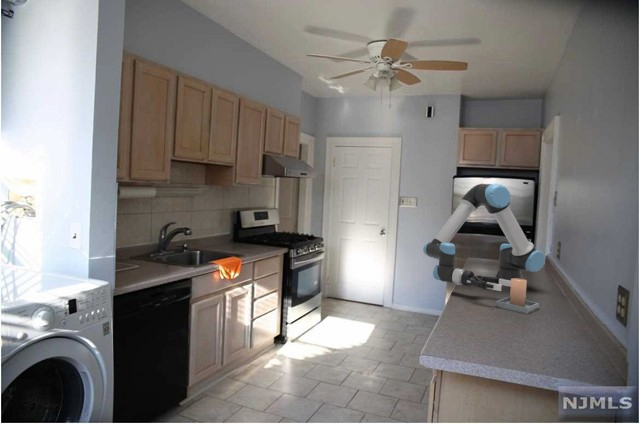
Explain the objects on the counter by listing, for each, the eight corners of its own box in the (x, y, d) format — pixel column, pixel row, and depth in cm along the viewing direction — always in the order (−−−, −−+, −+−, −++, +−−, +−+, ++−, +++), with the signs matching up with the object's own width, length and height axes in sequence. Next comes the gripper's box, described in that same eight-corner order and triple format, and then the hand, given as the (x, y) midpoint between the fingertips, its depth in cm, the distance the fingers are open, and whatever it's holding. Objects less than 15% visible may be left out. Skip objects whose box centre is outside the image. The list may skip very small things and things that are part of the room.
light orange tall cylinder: (512, 303, 205) (514, 277, 204) (527, 306, 200) (528, 280, 200) (507, 305, 200) (508, 279, 200) (521, 308, 196) (523, 281, 195)
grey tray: (507, 301, 210) (508, 296, 210) (538, 308, 200) (539, 303, 200) (495, 306, 200) (495, 301, 200) (527, 314, 191) (527, 308, 190)
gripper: (474, 281, 227) (517, 290, 212) (450, 288, 209) (495, 298, 194) (475, 267, 227) (518, 274, 212) (451, 272, 209) (496, 281, 194)
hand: (507, 286), depth 203 cm, fingers open, 13 cm apart
